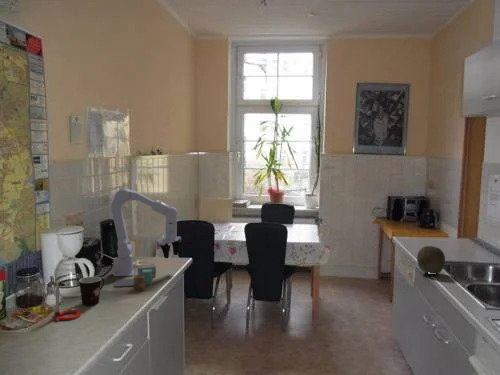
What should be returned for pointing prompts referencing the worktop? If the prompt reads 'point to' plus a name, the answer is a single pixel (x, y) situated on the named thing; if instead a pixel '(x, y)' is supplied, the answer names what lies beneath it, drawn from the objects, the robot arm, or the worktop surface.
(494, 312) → the worktop surface
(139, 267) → the control box
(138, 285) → the walnut block
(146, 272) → the teal block
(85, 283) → the coffee mug
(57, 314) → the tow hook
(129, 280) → the mat
